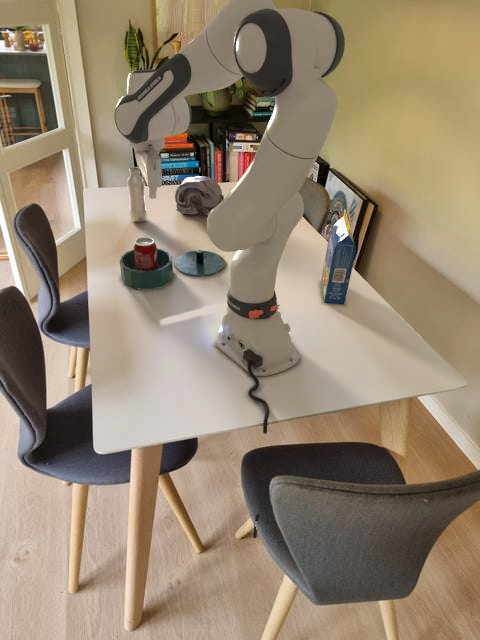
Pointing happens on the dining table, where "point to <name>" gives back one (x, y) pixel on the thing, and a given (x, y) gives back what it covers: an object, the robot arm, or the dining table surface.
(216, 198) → the grey cloth bundle
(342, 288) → the blue food package
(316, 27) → the robot arm
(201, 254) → the pan lid
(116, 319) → the dining table surface
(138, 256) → the soda can
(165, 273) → the pan
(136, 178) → the plastic bottle
